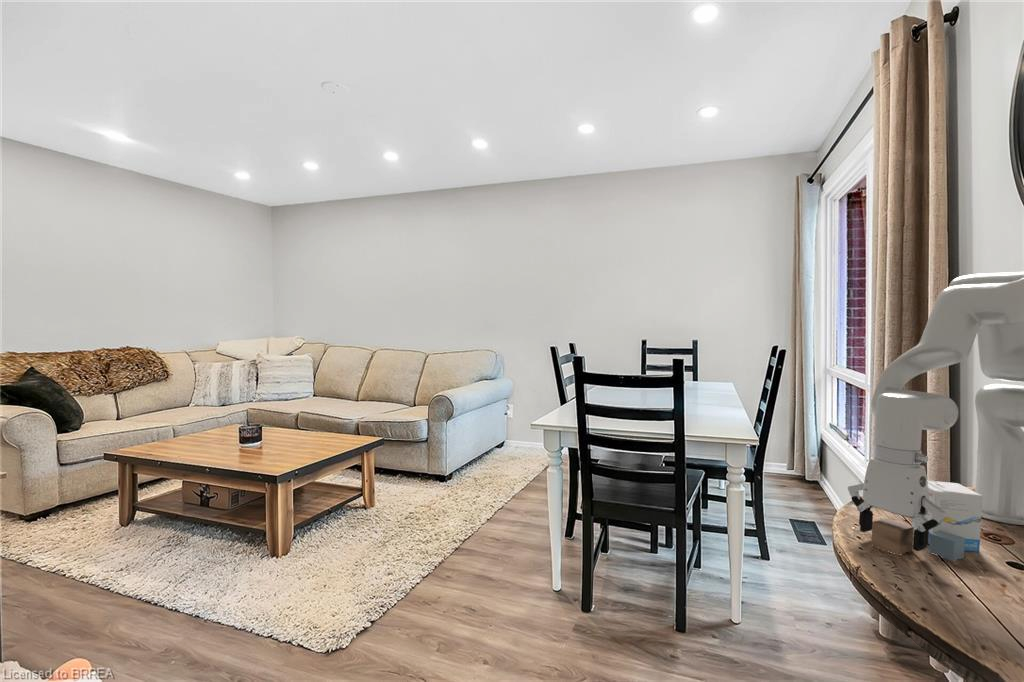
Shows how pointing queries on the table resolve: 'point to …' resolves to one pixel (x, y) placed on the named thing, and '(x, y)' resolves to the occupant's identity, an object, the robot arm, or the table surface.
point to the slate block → (947, 545)
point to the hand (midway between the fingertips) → (891, 539)
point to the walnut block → (892, 536)
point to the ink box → (957, 512)
